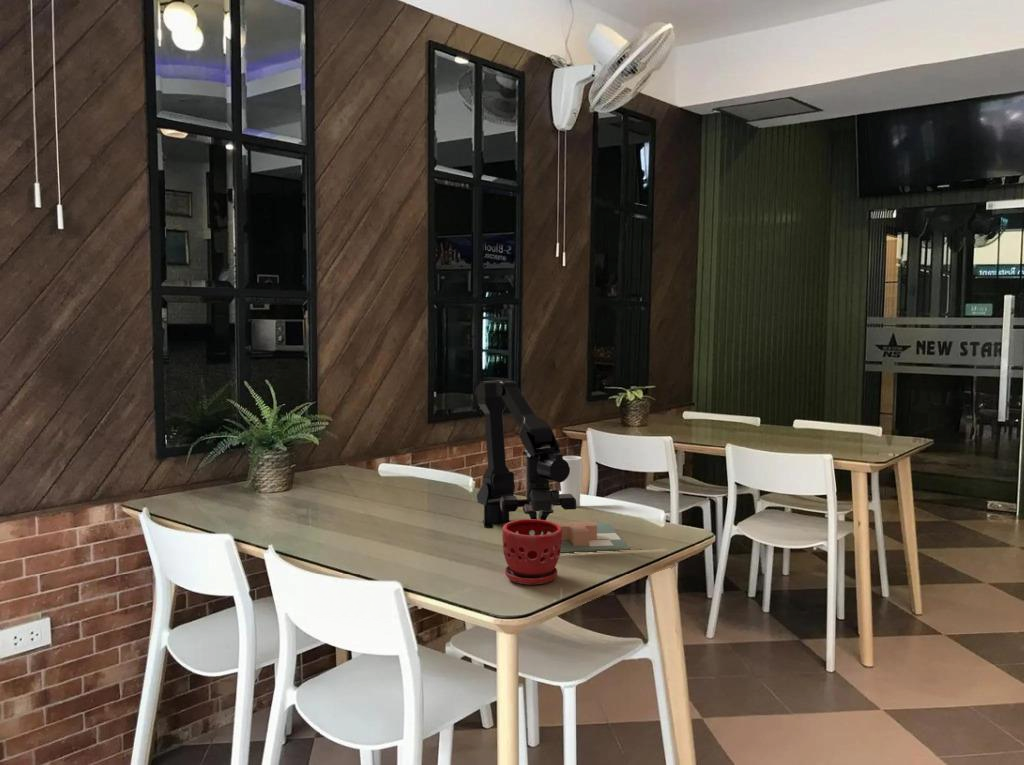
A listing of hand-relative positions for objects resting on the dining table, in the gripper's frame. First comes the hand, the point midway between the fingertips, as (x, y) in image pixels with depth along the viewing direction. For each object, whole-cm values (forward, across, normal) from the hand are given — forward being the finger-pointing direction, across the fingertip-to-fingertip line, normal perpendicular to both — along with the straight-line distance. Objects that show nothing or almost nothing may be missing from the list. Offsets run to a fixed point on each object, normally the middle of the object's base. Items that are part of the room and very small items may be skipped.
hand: (538, 536), depth 214 cm
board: (+2, +10, +3) cm, 11 cm away
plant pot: (+2, -5, -26) cm, 27 cm away
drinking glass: (+2, +15, +36) cm, 40 cm away
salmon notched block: (+1, +10, -1) cm, 10 cm away
